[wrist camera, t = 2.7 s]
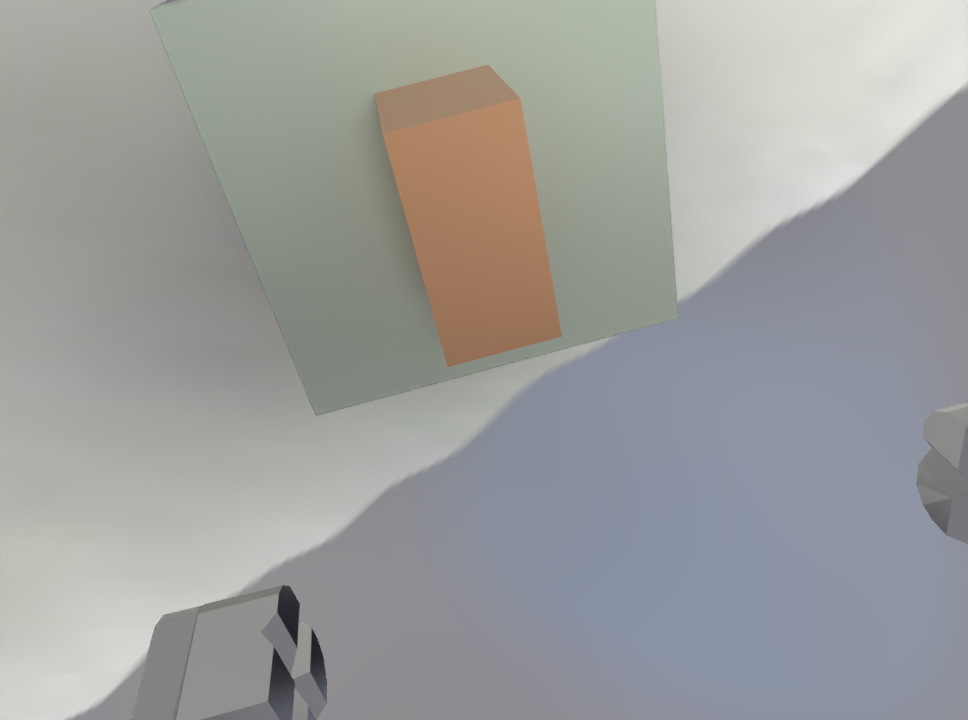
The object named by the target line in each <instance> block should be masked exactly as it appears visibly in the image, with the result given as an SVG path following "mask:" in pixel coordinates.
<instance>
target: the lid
mask: <svg viewBox="0 0 968 720" xmlns="http://www.w3.org/2000/svg"><path fill="white" fill-rule="evenodd" d="M149 12H150V14H151V16H152V19H153V21H154V24H155V26H156V29H157V31H158V34H159V36H160V38H161V41H162V43H163V46H164V48H165V51H166V53H167V55H168V58H169V60H170V63H171V65H172V68H173V70H174V72H175V75H176V77H177V80H178V82H179V85H180V87H181V89H182V92H183V94H184V97H185V99H186V102H187V104H188V106H189V109H190V111H191V114H192V116H193V119H194V121H195V123H196V126H197V128H198V131H199V133H200V136H201V138H202V140H203V143H204V145H205V148H206V150H207V153H208V155H209V157H210V160H211V162H212V165H213V167H214V170H215V172H216V174H217V177H218V179H219V182H220V184H221V187H222V189H223V192H224V194H225V196H226V199H227V201H228V204H229V206H230V209H231V211H232V213H233V216H234V218H235V221H236V223H237V226H238V228H239V230H240V233H241V235H242V238H243V240H244V243H245V245H246V247H247V250H248V252H249V255H250V257H251V260H252V262H253V264H254V267H255V269H256V272H257V274H258V277H259V279H260V281H261V284H262V286H263V289H264V291H265V294H266V296H267V298H268V301H269V303H270V306H271V308H272V311H273V313H274V315H275V318H276V320H277V323H278V325H279V328H280V330H281V333H282V335H283V337H284V340H285V342H286V345H287V347H288V350H289V352H290V354H291V357H292V359H293V362H294V364H295V367H296V369H297V371H298V374H299V376H300V379H301V381H302V384H303V386H304V388H305V391H306V393H307V396H308V398H309V401H310V403H311V405H312V408H313V410H314V413H315V415H316V416H317V415H320V414H324V413H328V412H331V411H335V410H339V409H343V408H346V407H350V406H354V405H357V404H361V403H365V402H369V401H372V400H376V399H380V398H384V397H387V396H391V395H395V394H398V393H402V392H406V391H410V390H413V389H417V388H421V387H424V386H428V385H432V384H436V383H439V382H443V381H447V380H450V379H454V378H458V377H462V376H465V375H469V374H473V373H476V372H480V371H484V370H488V369H491V368H495V367H499V366H502V365H506V364H510V363H514V362H517V361H521V360H525V359H529V358H532V357H536V356H540V355H543V354H547V353H551V352H555V351H558V350H562V349H566V348H569V347H573V346H577V345H581V344H584V343H588V342H592V341H595V340H599V339H603V338H607V337H610V336H614V335H618V334H621V333H625V332H629V331H633V330H636V329H640V328H643V327H647V326H651V325H655V324H659V323H662V322H666V321H670V320H674V319H677V318H678V309H677V294H676V280H675V267H674V253H673V240H672V226H671V213H670V199H669V185H668V172H667V158H666V145H665V131H664V118H663V104H662V91H661V77H660V63H659V50H658V36H657V23H656V9H655V0H178V1H174V2H170V3H166V4H162V5H158V6H156V7H154V8H153V9H151V10H149Z"/></svg>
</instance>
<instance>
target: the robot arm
mask: <svg viewBox="0 0 968 720" xmlns="http://www.w3.org/2000/svg"><path fill="white" fill-rule="evenodd" d="M923 438H924V439H925V440H926V441H927V442H928V443H929V444H930V445H931V446H932V448H931V449H930V451H929V452H928V453H927V454H926V455H925V457H924V458H923V459H922V460H921V462H920V463H919V464H918V465H919V466H918V477H917V487H918V490H919V493H920V497H921V500H922V503H923V506H924V507H925V509H926V510H927V512H928V514H929V515H930V517H931V519H932V520H933V521H934V522H935V523H936V524H937V526H938V527H939V528H940V529H941V530H942V531H943V532H944V533H945V534H946V535H947V536H950V537H952V538H955V539H957V540H960V541H962V542H965V543H967V544H968V401H967V402H963V403H960V404H956V405H952V406H949V407H945V408H942V409H938V410H934V411H932V412H931V413H930V415H929V416H928V418H927V419H926V420H925V425H924V431H923ZM299 608H300V603H299V602H298V600H297V598H296V596H295V595H294V593H293V591H292V589H291V588H290V586H285V585H282V586H278V587H274V588H270V589H266V590H262V591H257V592H253V593H249V594H245V595H241V596H237V597H232V598H228V599H224V600H220V601H216V602H212V603H208V604H204V605H203V606H199V607H195V608H190V609H186V610H182V611H178V612H174V613H170V614H165V615H163V617H162V618H161V619H160V620H159V622H158V623H157V624H156V626H155V628H154V632H153V635H152V639H151V643H150V647H149V650H148V654H147V658H146V662H145V666H144V669H143V673H142V677H141V680H140V684H139V688H138V692H137V695H136V699H135V703H134V706H133V710H132V714H131V717H130V720H316V719H317V718H318V716H319V715H320V713H321V712H322V710H323V708H324V707H325V705H326V704H327V679H326V672H325V665H324V658H323V654H322V651H321V648H320V645H319V641H318V639H317V637H316V635H315V633H314V631H313V629H312V627H310V626H308V625H306V624H304V623H302V622H299Z"/></svg>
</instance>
